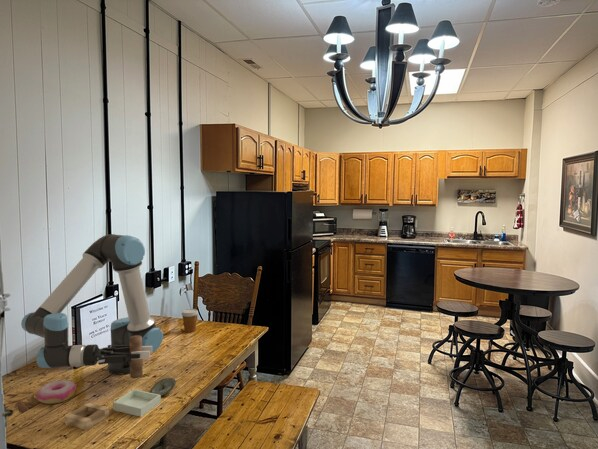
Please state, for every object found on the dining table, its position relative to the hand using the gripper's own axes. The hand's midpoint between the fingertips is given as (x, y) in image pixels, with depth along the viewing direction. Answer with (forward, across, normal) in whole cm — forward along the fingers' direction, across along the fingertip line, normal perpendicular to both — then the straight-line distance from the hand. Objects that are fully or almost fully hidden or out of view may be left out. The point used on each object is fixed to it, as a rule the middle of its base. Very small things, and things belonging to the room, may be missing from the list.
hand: (150, 352), depth 158 cm
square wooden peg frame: (-21, +7, -21) cm, 31 cm away
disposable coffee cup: (+7, -86, -21) cm, 88 cm away
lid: (+3, -11, -21) cm, 24 cm away
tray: (-5, 0, -21) cm, 22 cm away
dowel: (-5, 0, -9) cm, 10 cm away
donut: (-38, -12, -22) cm, 46 cm away
